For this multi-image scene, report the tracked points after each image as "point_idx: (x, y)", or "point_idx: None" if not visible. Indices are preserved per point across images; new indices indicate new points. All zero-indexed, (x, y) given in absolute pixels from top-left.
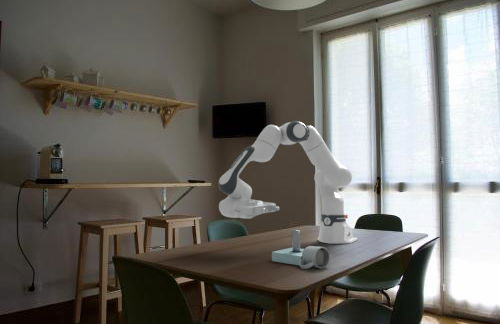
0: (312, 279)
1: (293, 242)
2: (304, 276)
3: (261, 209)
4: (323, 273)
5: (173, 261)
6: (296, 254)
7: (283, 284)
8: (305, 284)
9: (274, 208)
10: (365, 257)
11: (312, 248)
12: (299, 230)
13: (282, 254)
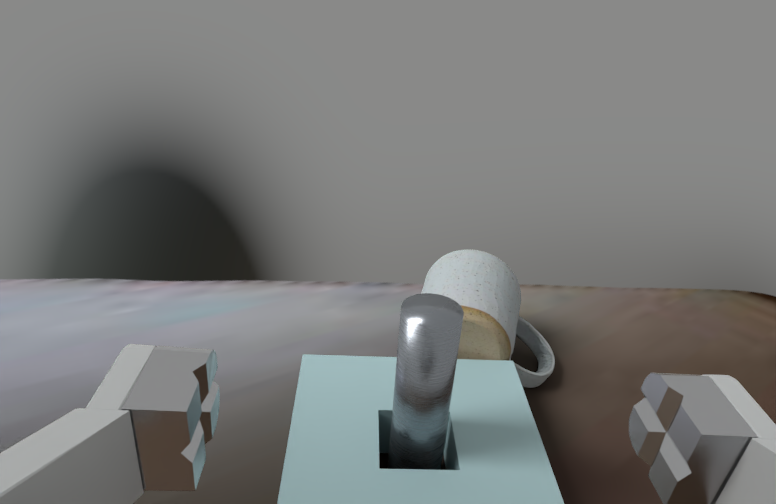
0: (623, 299)
1: (451, 390)
2: (624, 325)
3: (756, 427)
4: (529, 305)
5: None
6: (495, 395)
7: (758, 325)
8: (682, 293)
9: (186, 444)
10: (127, 297)
11: (497, 282)
12: (423, 293)
13: (549, 470)
